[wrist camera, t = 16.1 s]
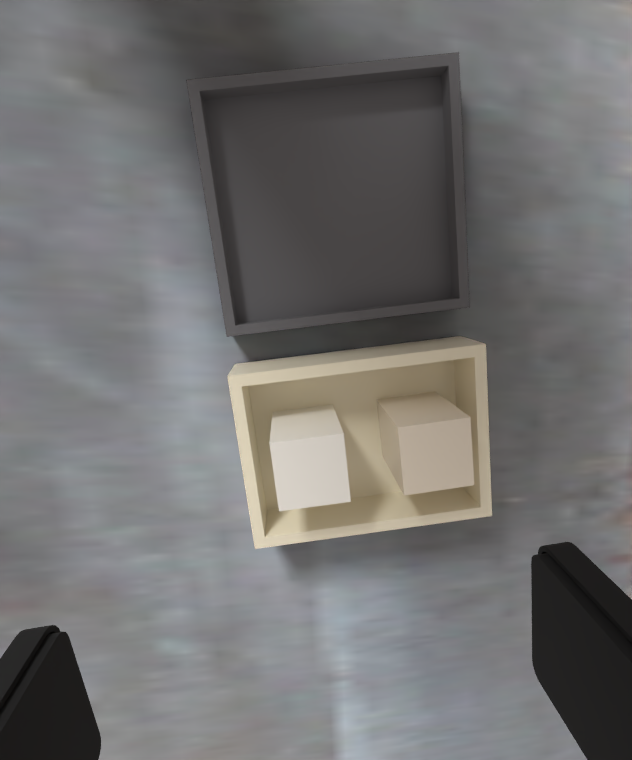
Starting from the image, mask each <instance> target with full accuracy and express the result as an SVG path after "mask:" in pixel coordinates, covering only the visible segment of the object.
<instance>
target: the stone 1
mask: <svg viewBox="0 0 632 760" xmlns="http://www.w3.org/2000/svg"><path fill="white" fill-rule="evenodd" d="M269 444H270V451H271V458H272V465H273V472H274V479H275V486H276V493H277V500H278V507H279V511H286V510H293V509H300V508H308V507H315V506H323V505H330V504H338V503H345V502H351V498H350V489H349V479H348V469H347V460H346V450H345V441H344V433H343V430H342V428H341V425H340V422H339V420H338V417H337V414H336V412H335V409H334V406H333V404H331V405H323V406H315V407H307V408H299V409H291V410H283V411H276V412H272V422H271V432H270V442H269Z"/></svg>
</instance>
